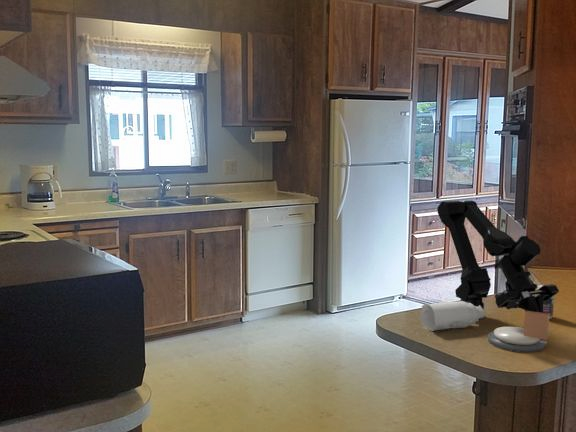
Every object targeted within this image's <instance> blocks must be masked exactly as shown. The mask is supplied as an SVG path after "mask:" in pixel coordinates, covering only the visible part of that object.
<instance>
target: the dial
mask: <svg viewBox="0 0 576 432" xmlns="http://www.w3.org/2000/svg"><path fill="white" fill-rule="evenodd" d="M524 311H525V310H524ZM549 315H550V314H547V313H540V312H534V311H528V310H526V311H525V312H524V324H523V327H520V326H519V327H518V326H501V327H497V328H495V329H494V330H493V332H494V337H495V338H496V339H498V340H500V341H503V342H506V343H511V344H517V345H532V344H536V343H538V342H539V341H540V339H544V340H545V341H546V340H547V341H548V339H549V328H550V319H549Z"/></svg>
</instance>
